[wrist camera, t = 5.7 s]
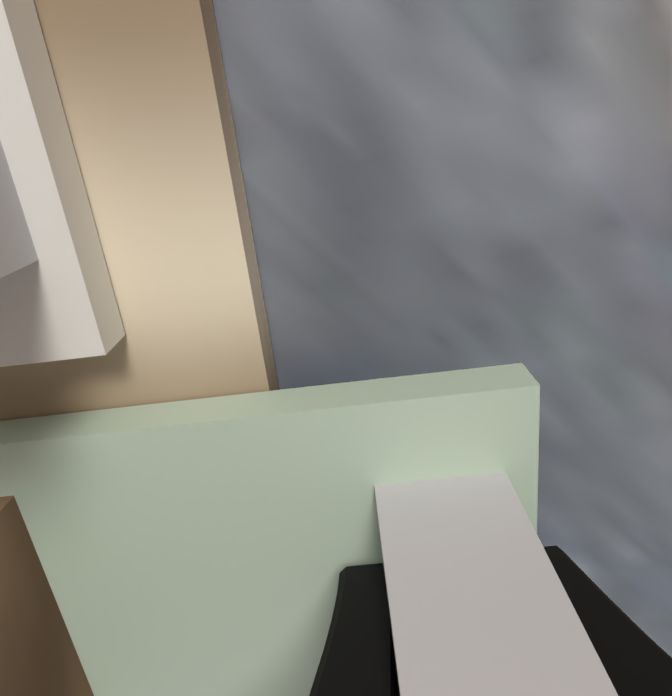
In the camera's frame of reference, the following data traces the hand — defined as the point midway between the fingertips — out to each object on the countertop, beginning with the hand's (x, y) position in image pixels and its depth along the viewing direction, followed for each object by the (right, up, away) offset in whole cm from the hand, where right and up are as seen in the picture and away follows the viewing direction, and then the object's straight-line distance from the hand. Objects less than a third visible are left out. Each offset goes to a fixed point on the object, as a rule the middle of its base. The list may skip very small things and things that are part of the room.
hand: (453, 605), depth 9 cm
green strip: (-5, 0, +1) cm, 6 cm away
